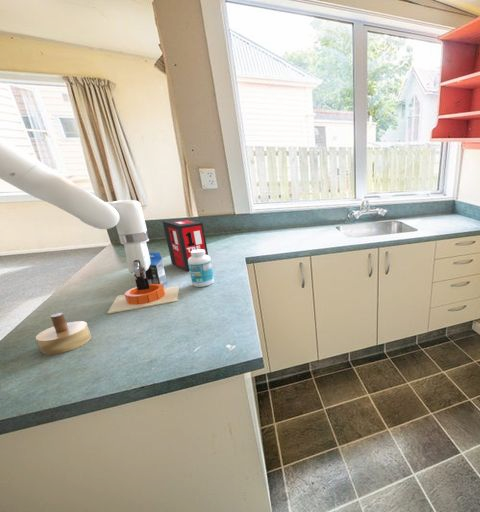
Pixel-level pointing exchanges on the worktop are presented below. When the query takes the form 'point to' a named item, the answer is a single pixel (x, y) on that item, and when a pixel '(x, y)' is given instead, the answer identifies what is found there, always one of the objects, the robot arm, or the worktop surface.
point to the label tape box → (157, 269)
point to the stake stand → (63, 335)
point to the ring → (145, 294)
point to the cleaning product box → (184, 240)
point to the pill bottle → (200, 268)
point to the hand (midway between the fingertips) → (146, 284)
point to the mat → (122, 305)
